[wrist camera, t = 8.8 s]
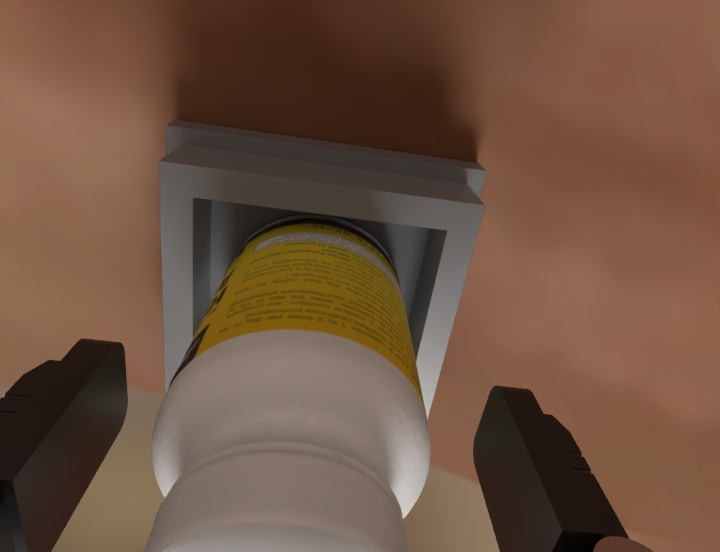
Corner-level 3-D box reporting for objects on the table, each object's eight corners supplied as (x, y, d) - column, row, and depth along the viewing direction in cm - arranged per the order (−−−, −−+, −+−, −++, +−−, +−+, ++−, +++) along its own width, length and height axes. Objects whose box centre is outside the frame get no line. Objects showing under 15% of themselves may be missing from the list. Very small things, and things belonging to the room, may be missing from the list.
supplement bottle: (221, 205, 14) (32, 474, 6) (406, 212, 15) (501, 479, 6) (232, 358, 17) (111, 715, 8) (390, 362, 17) (442, 711, 8)
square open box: (477, 162, 15) (506, 190, 12) (419, 393, 19) (432, 453, 16) (176, 119, 14) (138, 139, 12) (180, 370, 18) (151, 429, 15)
